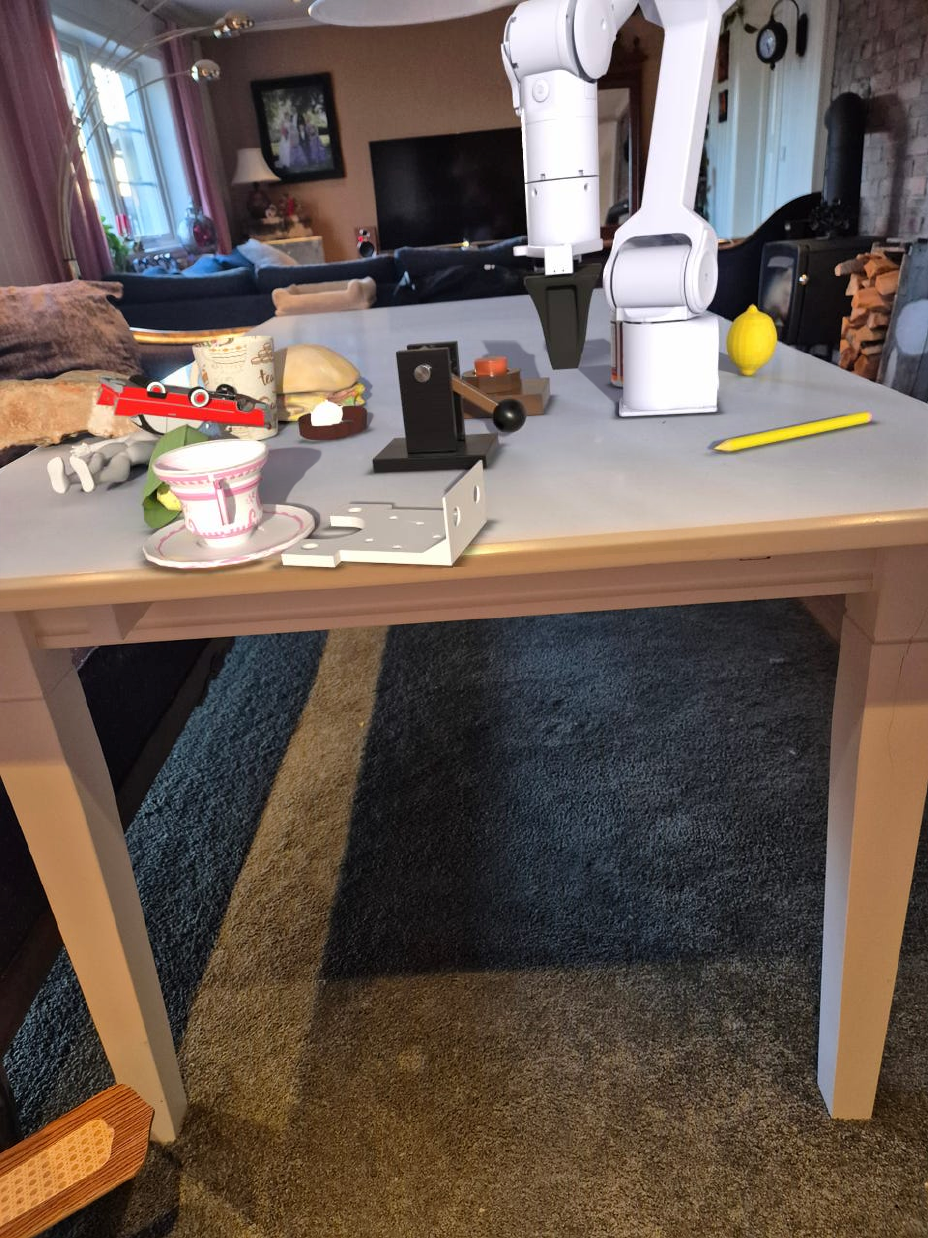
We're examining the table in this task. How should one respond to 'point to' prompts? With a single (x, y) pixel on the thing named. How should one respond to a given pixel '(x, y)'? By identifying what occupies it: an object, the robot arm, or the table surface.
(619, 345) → the pill bottle
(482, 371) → the press button
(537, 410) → the button block
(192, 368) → the mug
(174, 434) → the edible corn
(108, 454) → the character figure
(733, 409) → the table surface
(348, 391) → the burger
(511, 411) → the lever
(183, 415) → the toy car
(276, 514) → the teacup
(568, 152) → the robot arm
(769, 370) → the table surface
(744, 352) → the fruit
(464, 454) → the lever stand
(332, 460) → the table surface
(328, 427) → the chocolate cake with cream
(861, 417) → the pencil
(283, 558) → the bracket
